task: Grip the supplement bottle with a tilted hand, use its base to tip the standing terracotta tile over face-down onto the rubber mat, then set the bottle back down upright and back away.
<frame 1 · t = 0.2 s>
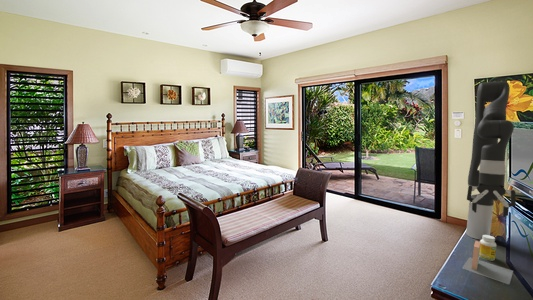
hand: (489, 214, 102), 21 cm above the dresser, tool pointing down, fingers open, 8 cm apart
terracotta tile: (474, 266, 104), point 1 cm above the dresser, touching rubber mat
rubber mat: (487, 271, 102), on the dresser
supplement bottle: (486, 259, 111), on the dresser
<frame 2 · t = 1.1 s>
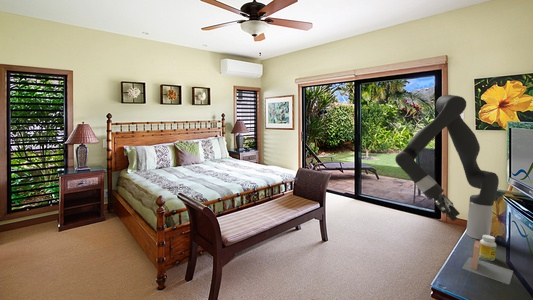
hand: (456, 217, 117), 15 cm above the dresser, tool tilted 45°, fingers open, 8 cm apart
nothing on the dresser moved.
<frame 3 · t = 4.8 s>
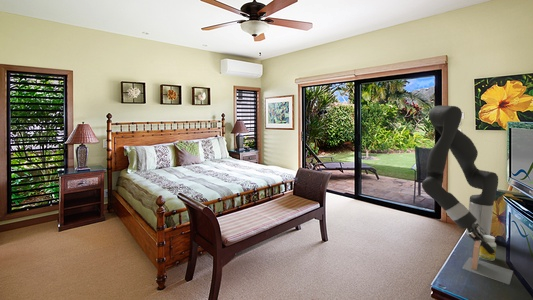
hand: (493, 250, 109), 4 cm above the dresser, tool tilted 45°, fingers closed on supplement bottle, 5 cm apart
supplement bottle: (486, 258, 111), on the dresser, touching gripper
everything else where it was.
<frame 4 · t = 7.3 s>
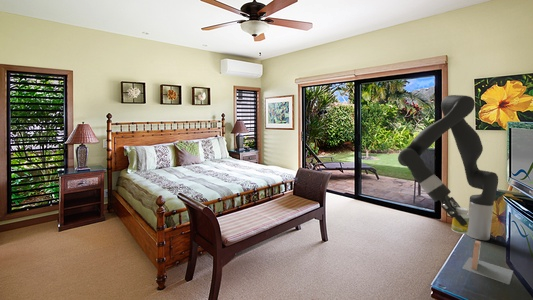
hand: (465, 222, 106), 17 cm above the dresser, tool tilted 45°, fingers closed on supplement bottle, 5 cm apart
supplement bottle: (459, 232, 108), point 12 cm above the dresser, touching gripper
everything else where it was.
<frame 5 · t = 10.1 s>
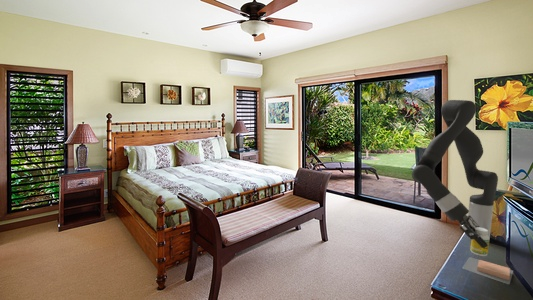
hand: (485, 244, 101), 10 cm above the dresser, tool tilted 45°, fingers closed on supplement bottle, 5 cm apart
terracotta tile: (478, 264, 103), point 1 cm above the dresser, tilted 90°, touching rubber mat
supplement bottle: (478, 253, 103), point 6 cm above the dresser, touching gripper
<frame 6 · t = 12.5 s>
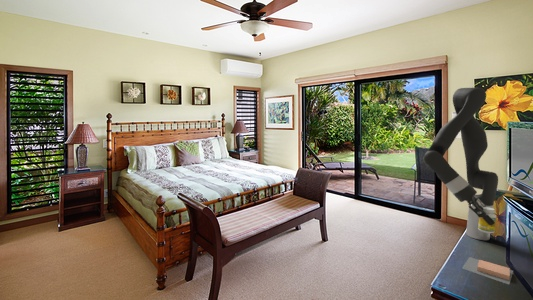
hand: (493, 222, 109), 16 cm above the dresser, tool tilted 45°, fingers closed on supplement bottle, 5 cm apart
supplement bottle: (486, 231, 111), point 11 cm above the dresser, touching gripper
everything else where it was.
when the fingers open (6 cm above the dresser, at t = 14.8 s): supplement bottle drops 1 cm, on the dresser.
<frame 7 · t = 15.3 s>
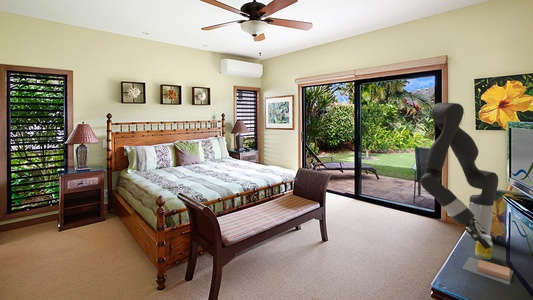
hand: (489, 244, 110), 6 cm above the dresser, tool tilted 45°, fingers open, 8 cm apart
supplement bottle: (482, 257, 112), on the dresser
everything else where it was.
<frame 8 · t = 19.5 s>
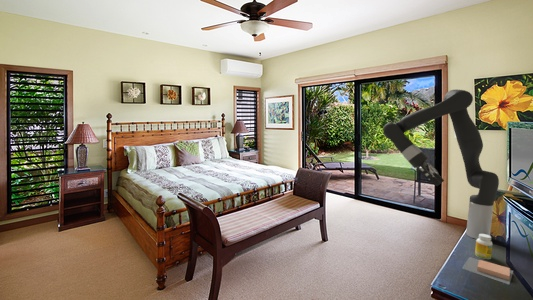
hand: (440, 183, 121), 29 cm above the dresser, tool tilted 45°, fingers open, 8 cm apart
nothing on the dresser moved.
at the end: terracotta tile tilted 90°; terracotta tile inside the target area on the rubber mat (2.0 cm from its centre), point 1.4 cm above the rubber mat's base; supplement bottle inside the target area (0.3 cm from its centre), on the dresser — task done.
